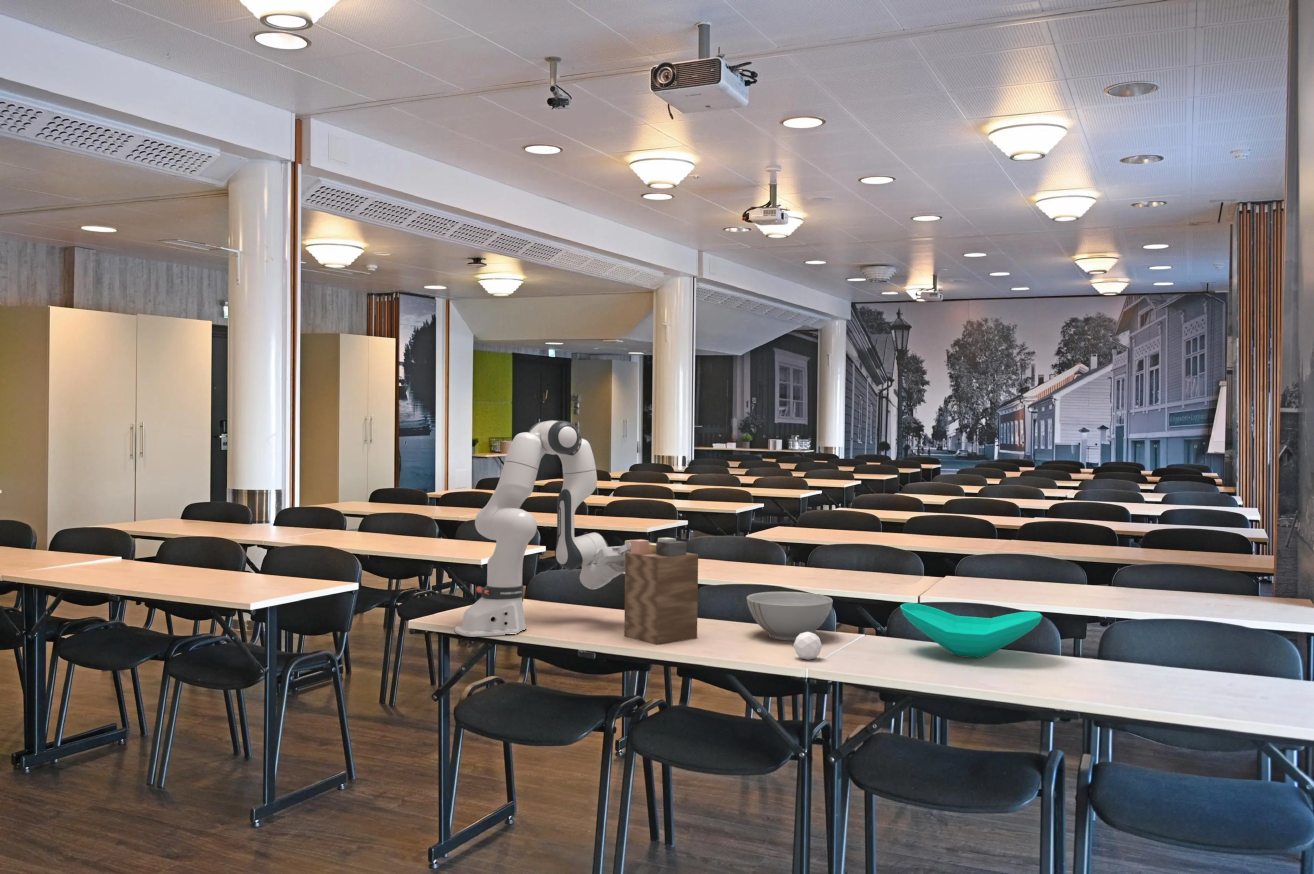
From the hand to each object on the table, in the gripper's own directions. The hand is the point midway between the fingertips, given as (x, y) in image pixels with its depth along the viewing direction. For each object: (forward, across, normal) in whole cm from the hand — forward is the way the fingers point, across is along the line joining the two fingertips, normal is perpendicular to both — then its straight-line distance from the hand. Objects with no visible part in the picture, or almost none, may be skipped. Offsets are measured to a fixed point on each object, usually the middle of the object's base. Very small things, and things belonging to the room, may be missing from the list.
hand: (637, 543), depth 334 cm
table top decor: (+60, +55, +67) cm, 105 cm away
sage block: (+6, +6, +6) cm, 10 cm away
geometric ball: (+38, +14, +54) cm, 68 cm away
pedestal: (-4, 0, +30) cm, 30 cm away
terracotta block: (+6, -6, +6) cm, 10 cm away
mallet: (+6, 0, +5) cm, 8 cm away
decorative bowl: (+16, +33, +42) cm, 56 cm away
